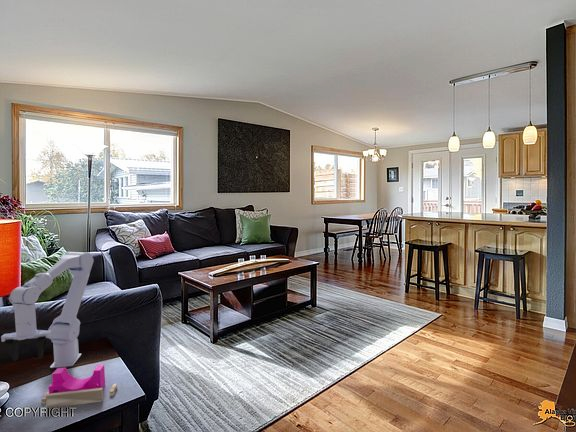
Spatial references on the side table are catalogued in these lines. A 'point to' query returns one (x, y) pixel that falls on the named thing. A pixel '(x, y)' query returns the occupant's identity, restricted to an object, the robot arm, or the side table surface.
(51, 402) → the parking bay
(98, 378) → the toy block
